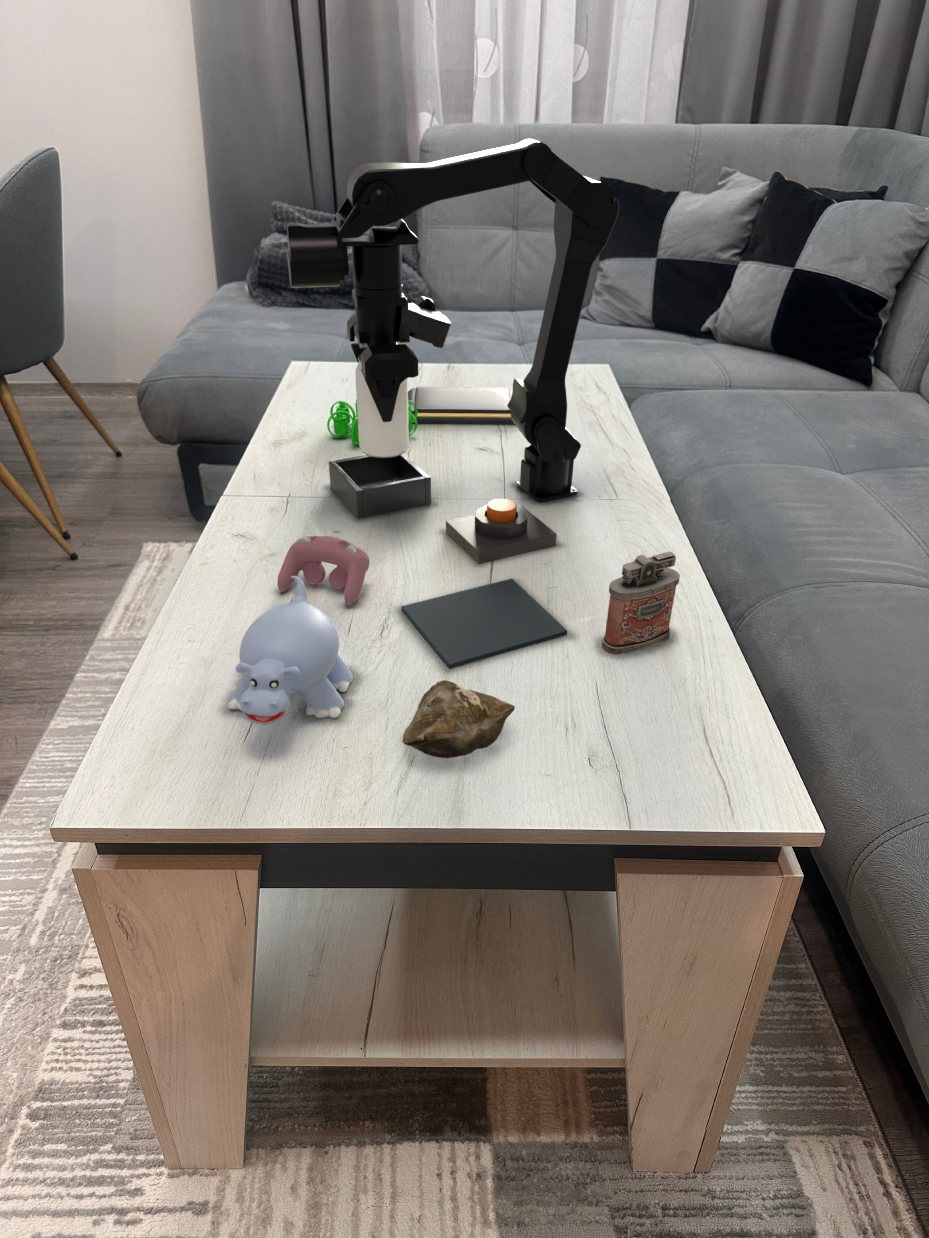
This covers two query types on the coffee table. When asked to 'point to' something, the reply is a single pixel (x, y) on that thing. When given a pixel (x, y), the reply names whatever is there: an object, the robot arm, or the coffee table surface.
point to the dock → (384, 496)
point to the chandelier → (356, 421)
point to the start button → (501, 510)
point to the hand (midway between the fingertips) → (383, 412)
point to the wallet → (461, 405)
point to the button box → (500, 535)
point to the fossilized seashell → (455, 721)
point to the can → (381, 422)
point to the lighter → (641, 604)
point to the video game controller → (330, 550)
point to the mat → (482, 622)
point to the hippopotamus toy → (290, 663)
